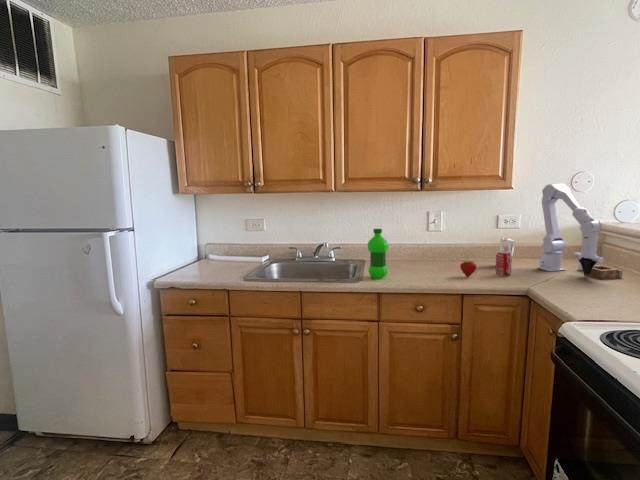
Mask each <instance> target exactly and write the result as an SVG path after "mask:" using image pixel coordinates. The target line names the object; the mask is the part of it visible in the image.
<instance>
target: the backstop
mask: <svg viewBox="0 0 640 480" xmlns="http://www.w3.org/2000/svg"><path fill="white" fill-rule="evenodd" d="M621 278H623V270H621V269H619V273H618V278H617V279H621Z"/></svg>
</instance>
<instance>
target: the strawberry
mask: <svg viewBox="0 0 640 480" xmlns="http://www.w3.org/2000/svg"><path fill="white" fill-rule="evenodd" d="M474 262H475V261H473V260H468V257H467V259H466V260H463V262H462V263H460V265H459V267H460V271H462V274H464V276H466V277H467V278H469V277H471V276H472V275H473V274H474V273H475V272H476V270H477V264H476V263H474ZM466 277H465V278H466Z"/></svg>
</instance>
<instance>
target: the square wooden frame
mask: <svg viewBox="0 0 640 480" xmlns="http://www.w3.org/2000/svg"><path fill="white" fill-rule="evenodd" d="M619 270H620V269H618V268H614V267H610V266H606V265H602V264H598V265H594V266H593V268H592V270H591V272H590V274H588V275H586V274H584V276H589V277H592V278H596V279H598V280H604V279H605V280H606V279H619V278H618V273H619Z"/></svg>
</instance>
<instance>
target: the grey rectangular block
mask: <svg viewBox="0 0 640 480" xmlns="http://www.w3.org/2000/svg"><path fill="white" fill-rule="evenodd" d="M579 259H582V258H580V257H578V260H579ZM577 270H578V271H581V272H583V268H582V265H581V263H580V262H579V261H578V267H577Z"/></svg>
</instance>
